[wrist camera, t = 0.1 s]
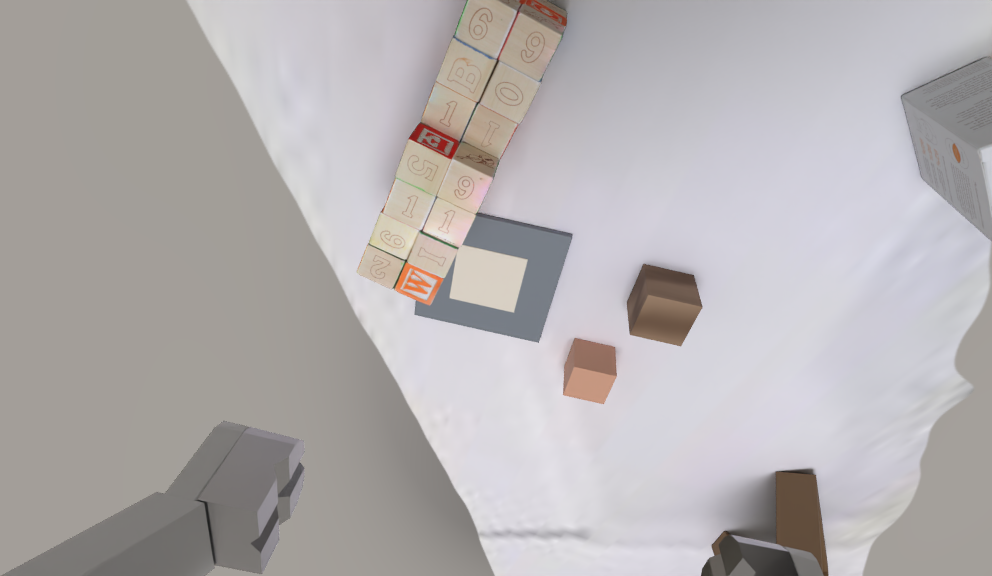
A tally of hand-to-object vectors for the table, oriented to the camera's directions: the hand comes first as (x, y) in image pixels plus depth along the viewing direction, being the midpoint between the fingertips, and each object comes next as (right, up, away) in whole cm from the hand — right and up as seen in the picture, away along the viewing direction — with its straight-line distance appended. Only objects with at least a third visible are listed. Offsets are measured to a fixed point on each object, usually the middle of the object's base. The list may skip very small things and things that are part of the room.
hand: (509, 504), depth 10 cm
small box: (+34, +17, +31) cm, 49 cm away
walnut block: (+16, +4, +44) cm, 47 cm away
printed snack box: (-2, +19, +35) cm, 40 cm away
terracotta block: (+10, -4, +50) cm, 51 cm away
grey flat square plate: (-1, +5, +45) cm, 46 cm away
